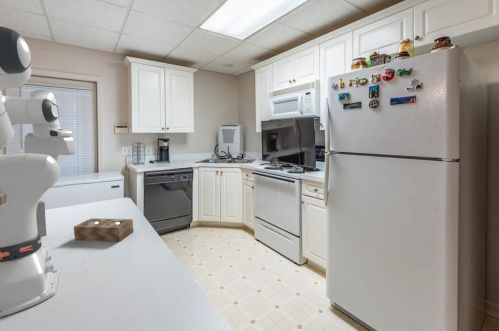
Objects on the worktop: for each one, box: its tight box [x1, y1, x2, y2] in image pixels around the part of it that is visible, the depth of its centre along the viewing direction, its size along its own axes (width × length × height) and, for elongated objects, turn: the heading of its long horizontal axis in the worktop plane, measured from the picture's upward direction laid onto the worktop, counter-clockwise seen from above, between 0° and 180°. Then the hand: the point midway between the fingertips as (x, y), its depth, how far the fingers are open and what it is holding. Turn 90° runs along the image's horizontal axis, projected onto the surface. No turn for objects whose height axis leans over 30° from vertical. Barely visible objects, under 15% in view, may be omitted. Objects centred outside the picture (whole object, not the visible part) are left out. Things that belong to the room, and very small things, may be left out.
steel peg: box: [88, 221, 99, 225], centre depth 110 cm, size 4×4×6 cm
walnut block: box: [73, 217, 134, 243], centre depth 109 cm, size 20×10×6 cm, turn 84°
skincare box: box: [36, 199, 48, 238], centre depth 110 cm, size 8×7×16 cm
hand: (51, 166), depth 105 cm, fingers closed
